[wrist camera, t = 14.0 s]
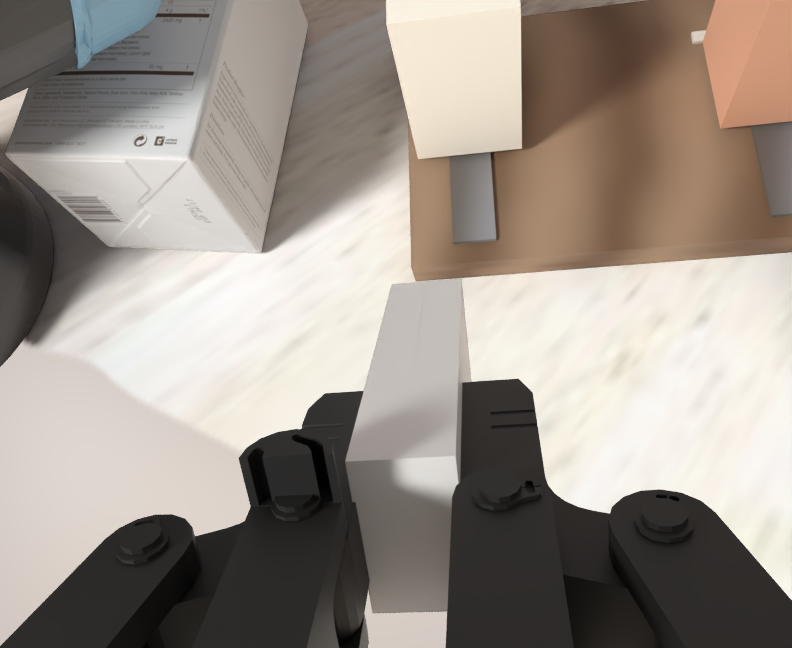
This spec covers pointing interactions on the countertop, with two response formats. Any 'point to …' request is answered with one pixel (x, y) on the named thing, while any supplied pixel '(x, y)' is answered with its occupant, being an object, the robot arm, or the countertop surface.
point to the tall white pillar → (459, 73)
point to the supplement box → (171, 127)
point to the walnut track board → (607, 158)
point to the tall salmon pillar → (750, 61)
